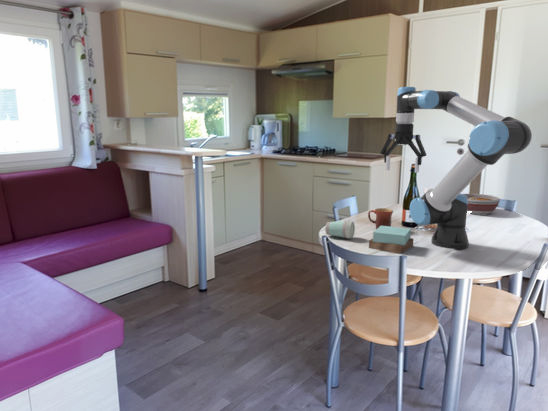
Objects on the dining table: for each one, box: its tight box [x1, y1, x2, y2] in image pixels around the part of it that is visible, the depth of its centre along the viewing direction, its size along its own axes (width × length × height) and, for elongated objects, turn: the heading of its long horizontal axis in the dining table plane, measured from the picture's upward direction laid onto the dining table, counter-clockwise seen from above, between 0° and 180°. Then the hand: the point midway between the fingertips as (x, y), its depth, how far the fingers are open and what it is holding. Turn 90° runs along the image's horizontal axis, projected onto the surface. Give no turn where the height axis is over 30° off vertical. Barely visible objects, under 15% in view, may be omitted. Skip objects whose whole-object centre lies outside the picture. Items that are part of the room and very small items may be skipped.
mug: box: [367, 207, 394, 230], centre depth 217 cm, size 12×9×10 cm
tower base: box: [368, 237, 414, 255], centre depth 189 cm, size 14×14×4 cm
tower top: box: [372, 226, 412, 245], centre depth 188 cm, size 13×13×4 cm
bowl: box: [463, 193, 501, 215], centre depth 254 cm, size 23×23×10 cm
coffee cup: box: [324, 220, 356, 240], centre depth 203 cm, size 9×8×12 cm
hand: (401, 171), depth 199 cm, fingers open, 13 cm apart
